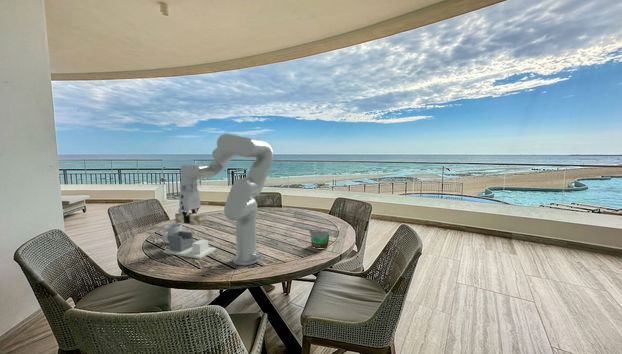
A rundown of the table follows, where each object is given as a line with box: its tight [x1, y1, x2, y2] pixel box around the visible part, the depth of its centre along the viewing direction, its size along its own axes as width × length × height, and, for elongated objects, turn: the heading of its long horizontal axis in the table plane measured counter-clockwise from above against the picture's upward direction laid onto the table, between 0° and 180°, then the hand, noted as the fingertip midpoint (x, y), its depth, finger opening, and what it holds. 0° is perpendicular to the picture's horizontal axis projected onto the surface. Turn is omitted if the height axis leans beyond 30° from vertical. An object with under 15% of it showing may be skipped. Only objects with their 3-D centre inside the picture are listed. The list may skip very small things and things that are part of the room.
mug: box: [161, 223, 183, 245], centre depth 137 cm, size 13×9×10 cm
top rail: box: [174, 212, 206, 227], centre depth 124 cm, size 16×4×5 cm, turn 72°
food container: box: [308, 228, 331, 249], centre depth 130 cm, size 12×6×10 cm, turn 76°
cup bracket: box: [162, 230, 217, 260], centre depth 125 cm, size 24×12×9 cm, turn 72°
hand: (190, 221), depth 124 cm, fingers closed on top rail, 4 cm apart
